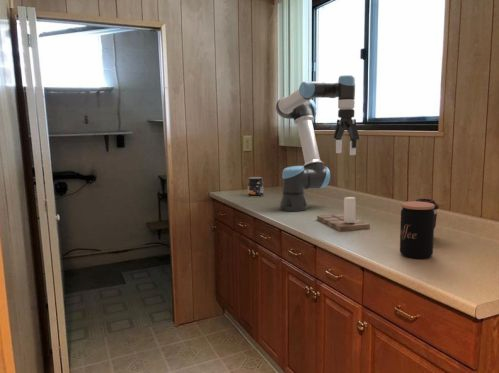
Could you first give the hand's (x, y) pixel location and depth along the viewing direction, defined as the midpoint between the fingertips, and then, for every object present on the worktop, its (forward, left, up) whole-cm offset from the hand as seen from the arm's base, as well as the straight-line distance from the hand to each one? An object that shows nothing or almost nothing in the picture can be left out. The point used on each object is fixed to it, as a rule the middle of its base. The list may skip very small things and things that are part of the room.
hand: (345, 154), depth 198 cm
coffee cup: (+42, +13, -32) cm, 54 cm away
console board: (+11, -7, -31) cm, 34 cm away
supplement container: (-81, -22, -32) cm, 90 cm away
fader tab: (+18, -7, -29) cm, 35 cm away
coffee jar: (+61, -5, -32) cm, 69 cm away
